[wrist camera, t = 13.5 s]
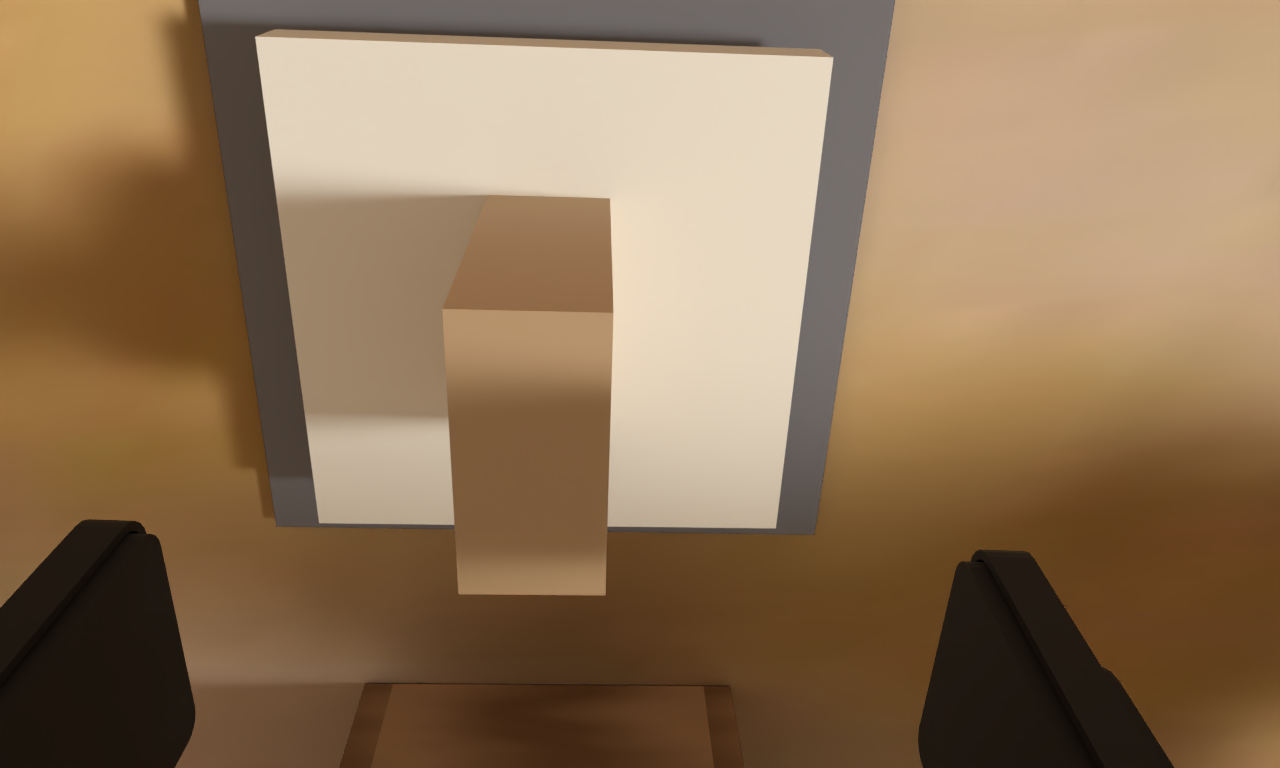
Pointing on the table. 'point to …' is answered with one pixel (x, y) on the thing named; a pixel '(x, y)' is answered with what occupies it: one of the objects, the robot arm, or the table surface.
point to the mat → (566, 10)
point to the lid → (544, 284)
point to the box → (543, 727)
